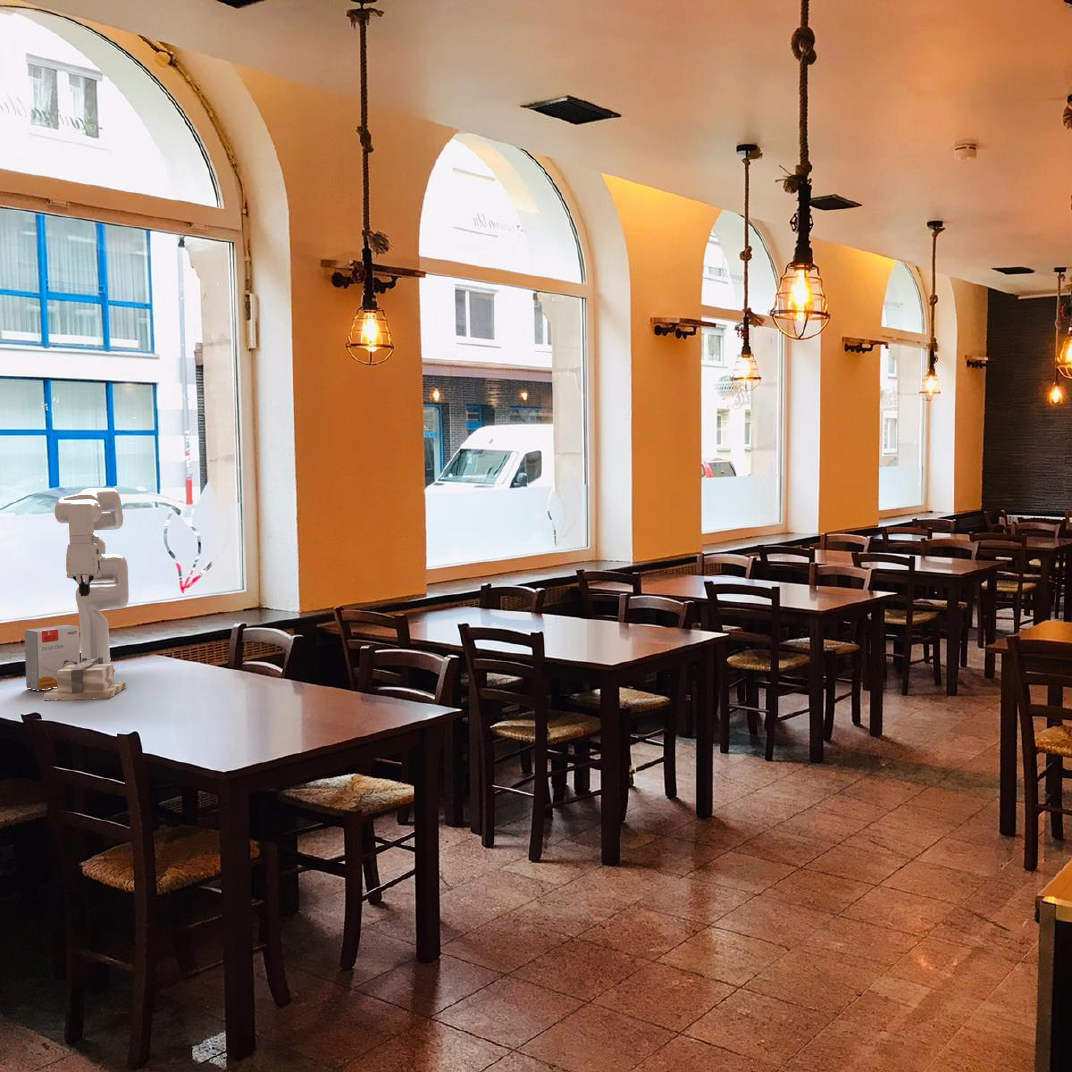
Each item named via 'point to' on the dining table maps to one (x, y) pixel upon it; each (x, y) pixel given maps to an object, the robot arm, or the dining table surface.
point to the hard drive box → (49, 654)
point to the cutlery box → (86, 682)
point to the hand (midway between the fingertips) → (84, 595)
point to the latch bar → (84, 664)
